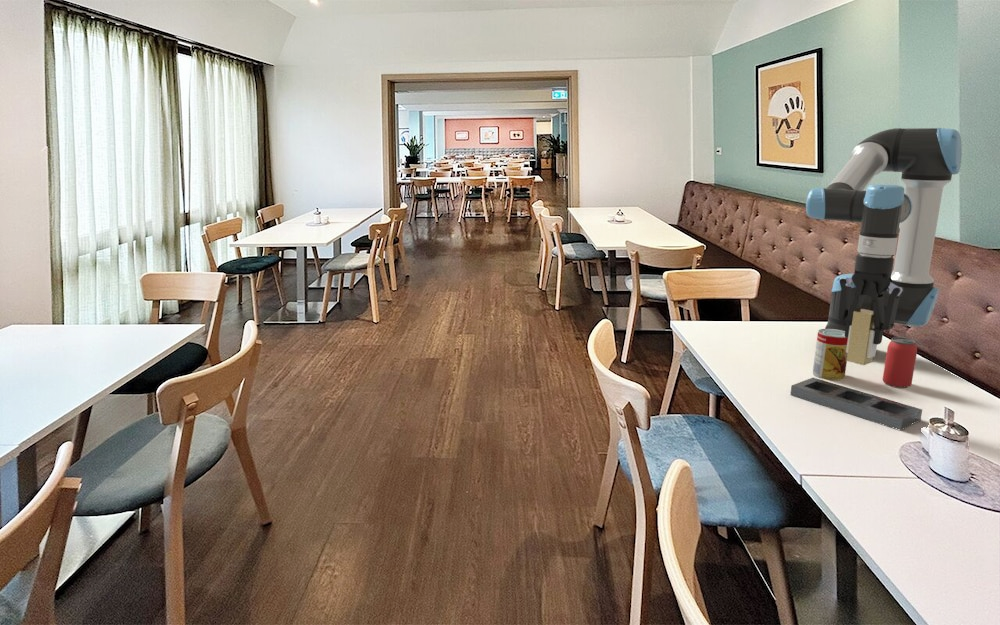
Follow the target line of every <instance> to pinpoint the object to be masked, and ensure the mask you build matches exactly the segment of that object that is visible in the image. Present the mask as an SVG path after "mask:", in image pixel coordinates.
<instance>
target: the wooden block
mask: <svg viewBox="0 0 1000 625" xmlns="http://www.w3.org/2000/svg"><path fill="white" fill-rule="evenodd" d="M873 329H874V315H873V311H870V310H865V309H860V310H856V311H854V313H853V320H852V327H851V333H850V340H849V347H848V354H847V362H850V363H852V364H853V363H854V364H858V365H861V366H867V365H869V364H872V363H873V360H874V359H873V358H874V357H871V358H867V357H866V356H867V350H868V343H869V337H870V330H873Z"/></svg>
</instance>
